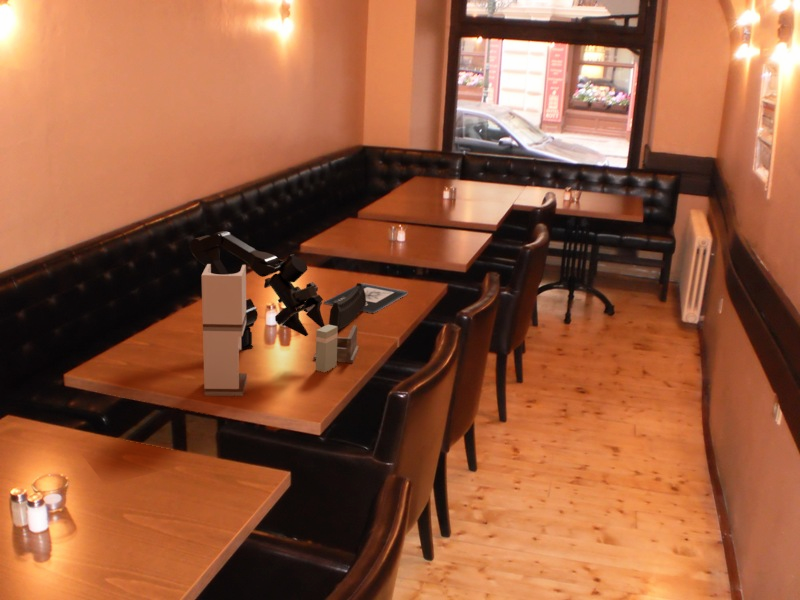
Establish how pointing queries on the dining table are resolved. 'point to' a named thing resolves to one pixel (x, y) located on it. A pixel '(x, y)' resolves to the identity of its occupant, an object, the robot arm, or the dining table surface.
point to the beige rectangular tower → (223, 331)
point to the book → (326, 348)
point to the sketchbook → (372, 297)
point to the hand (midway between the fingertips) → (315, 331)
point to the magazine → (348, 307)
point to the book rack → (347, 347)
